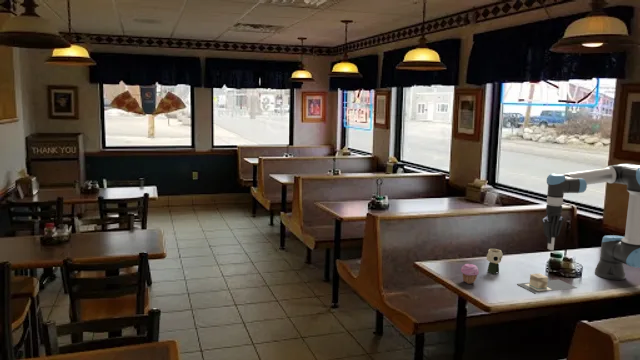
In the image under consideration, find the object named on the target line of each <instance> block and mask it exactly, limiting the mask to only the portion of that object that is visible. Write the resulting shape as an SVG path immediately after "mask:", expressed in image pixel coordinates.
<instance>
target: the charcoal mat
mask: <svg viewBox="0 0 640 360" xmlns="http://www.w3.org/2000/svg"><path fill="white" fill-rule="evenodd" d="M529 283H530V282H522V283H516V285H517V286H518V287H520V288H522V289H524V290H526V291H528V292H530V293H532V294H534V295H536V294H537V293H546V292H554V291H562V290H572V289H578V286H575V285H572V284H570V283H569V282H566V281H563V280H561V279H551V280H550V279H549V280H548V283H547V288H545V289H536V288H534V287H532V286H530V285H529Z"/></svg>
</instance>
